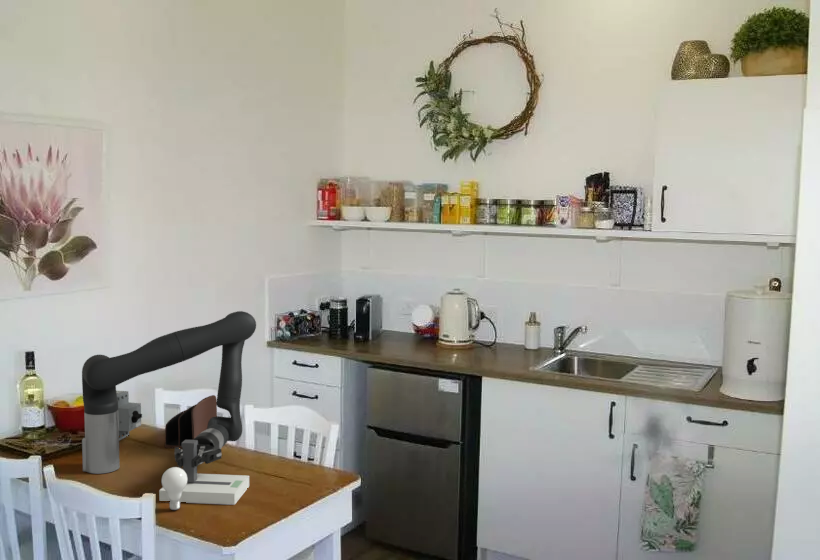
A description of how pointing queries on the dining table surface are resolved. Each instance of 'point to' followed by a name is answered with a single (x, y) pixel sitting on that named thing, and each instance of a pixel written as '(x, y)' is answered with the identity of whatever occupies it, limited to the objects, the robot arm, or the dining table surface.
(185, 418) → the letter holder
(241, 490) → the breaker panel
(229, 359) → the robot arm
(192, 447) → the handle
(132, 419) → the circuit breaker
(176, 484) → the lightbulb
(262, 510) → the dining table surface
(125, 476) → the dining table surface
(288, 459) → the dining table surface
